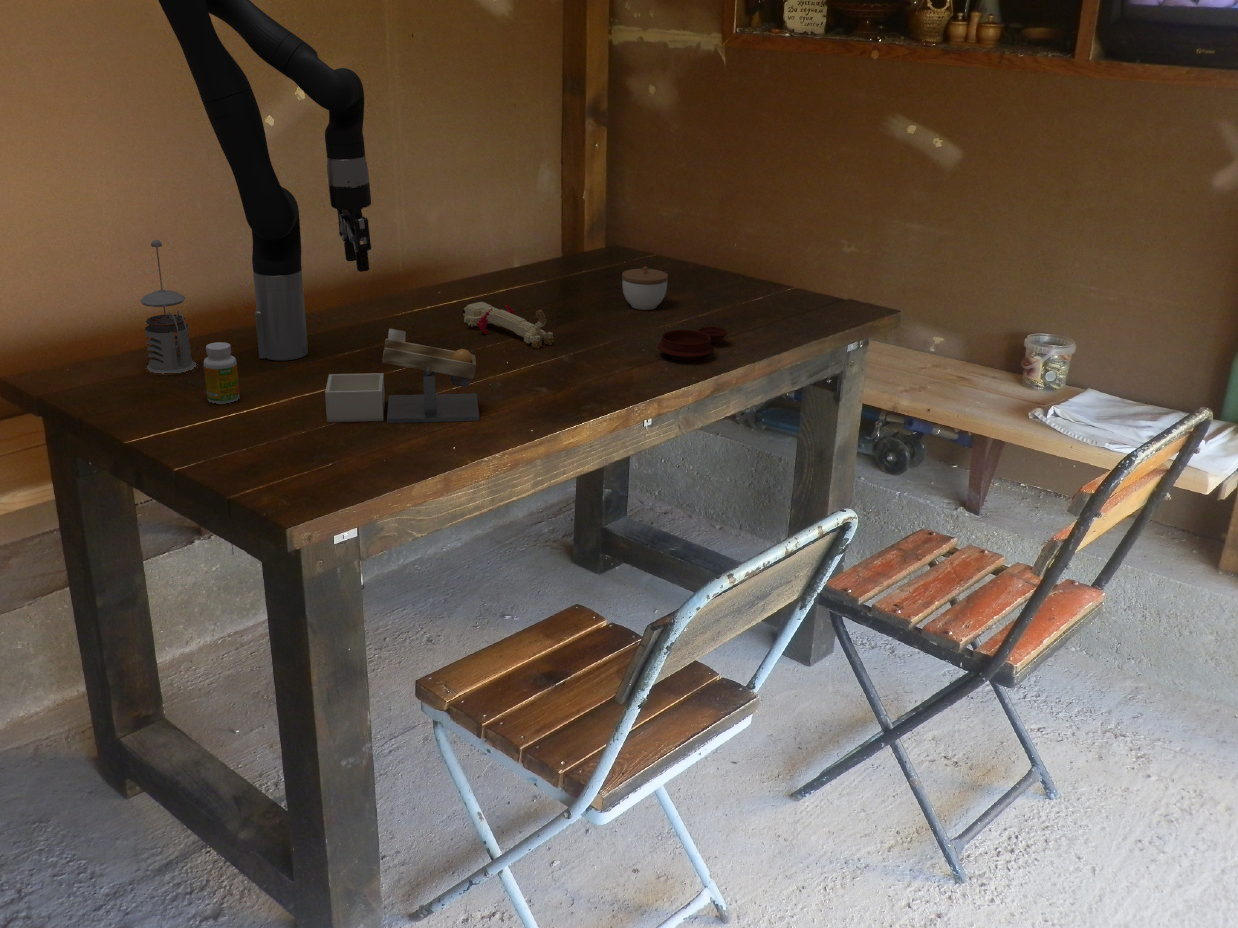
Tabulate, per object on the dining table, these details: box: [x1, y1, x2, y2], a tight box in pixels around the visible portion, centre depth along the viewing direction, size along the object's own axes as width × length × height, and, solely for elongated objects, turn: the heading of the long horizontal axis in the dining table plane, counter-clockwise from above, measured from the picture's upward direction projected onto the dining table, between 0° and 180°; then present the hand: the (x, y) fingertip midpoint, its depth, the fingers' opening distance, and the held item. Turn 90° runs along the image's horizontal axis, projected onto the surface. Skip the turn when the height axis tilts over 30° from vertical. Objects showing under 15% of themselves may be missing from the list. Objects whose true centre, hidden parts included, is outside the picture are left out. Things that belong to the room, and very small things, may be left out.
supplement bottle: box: [203, 342, 241, 405], centre depth 216 cm, size 6×6×10 cm
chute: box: [382, 328, 477, 388], centre depth 216 cm, size 16×15×4 cm
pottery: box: [657, 326, 728, 362], centre depth 252 cm, size 12×20×4 cm, turn 146°
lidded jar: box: [621, 266, 669, 311], centre depth 281 cm, size 11×11×9 cm
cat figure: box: [462, 301, 555, 350], centre depth 259 cm, size 10×9×25 cm
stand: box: [386, 370, 480, 424], centre depth 215 cm, size 16×12×8 cm
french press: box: [139, 239, 198, 374], centre depth 228 cm, size 10×12×25 cm
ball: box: [452, 348, 472, 363], centre depth 213 cm, size 4×4×4 cm
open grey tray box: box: [324, 372, 386, 423], centre depth 213 cm, size 10×10×6 cm
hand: (357, 265), depth 232 cm, fingers open, 8 cm apart
